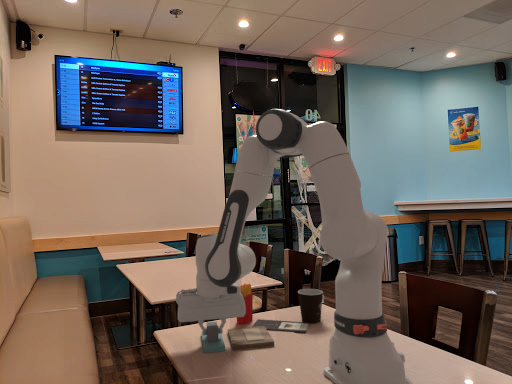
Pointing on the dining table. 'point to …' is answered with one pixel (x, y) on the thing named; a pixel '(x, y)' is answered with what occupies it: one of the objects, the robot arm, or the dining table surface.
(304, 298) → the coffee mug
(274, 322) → the chocolate bar
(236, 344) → the board
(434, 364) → the dining table surface
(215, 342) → the teal base gray block
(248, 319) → the french fries
